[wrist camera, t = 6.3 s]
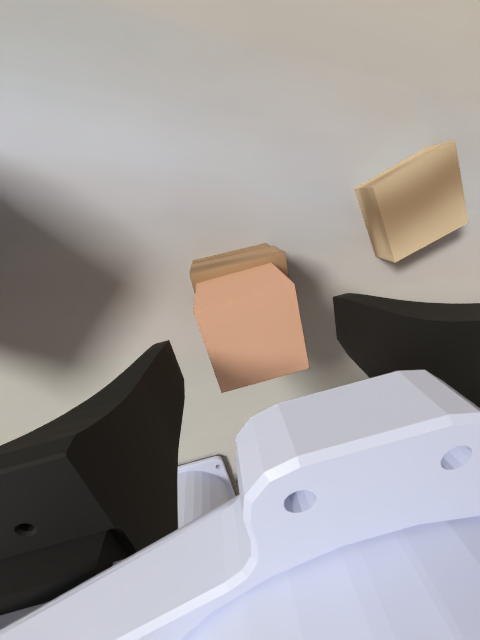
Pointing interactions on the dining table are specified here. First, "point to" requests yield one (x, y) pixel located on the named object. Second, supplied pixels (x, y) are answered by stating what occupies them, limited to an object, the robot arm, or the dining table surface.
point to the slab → (414, 202)
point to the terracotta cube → (251, 326)
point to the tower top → (237, 264)
